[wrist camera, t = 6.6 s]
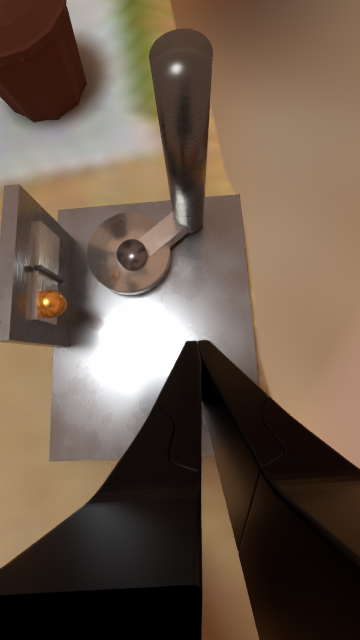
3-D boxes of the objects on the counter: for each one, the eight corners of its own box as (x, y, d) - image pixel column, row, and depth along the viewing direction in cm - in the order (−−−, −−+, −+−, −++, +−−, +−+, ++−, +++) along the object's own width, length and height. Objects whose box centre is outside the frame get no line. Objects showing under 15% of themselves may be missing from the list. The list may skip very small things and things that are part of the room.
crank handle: (220, 231, 21) (250, 72, 10) (125, 311, 21) (33, 246, 9) (168, 179, 23) (139, -18, 11) (77, 254, 22) (-61, 130, 10)
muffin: (95, 128, 26) (34, -15, 16) (-4, 139, 26) (-123, 8, 17) (96, 39, 28) (41, -137, 18) (3, 51, 28) (-99, -113, 19)
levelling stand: (261, 448, 20) (308, 510, 12) (57, 455, 21) (-31, 516, 13) (237, 202, 23) (259, 119, 15) (64, 217, 24) (0, 146, 16)
